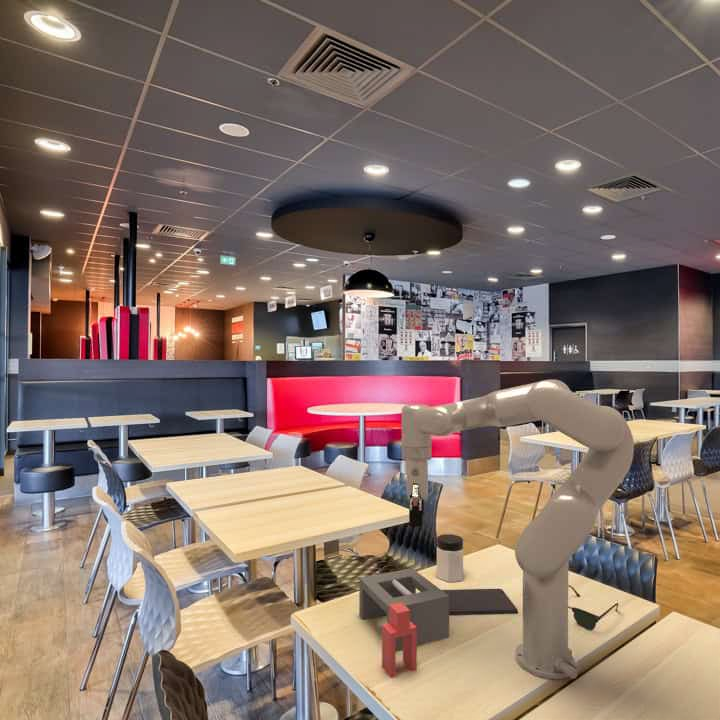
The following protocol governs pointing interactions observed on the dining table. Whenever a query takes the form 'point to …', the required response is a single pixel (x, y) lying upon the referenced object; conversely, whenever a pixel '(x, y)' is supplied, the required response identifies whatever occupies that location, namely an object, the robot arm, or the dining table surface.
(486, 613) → the notebook
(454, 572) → the jar
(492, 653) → the dining table surface
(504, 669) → the dining table surface
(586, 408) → the robot arm
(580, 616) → the sunglasses
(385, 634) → the red stepped block
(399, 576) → the grey frame with crossbar
